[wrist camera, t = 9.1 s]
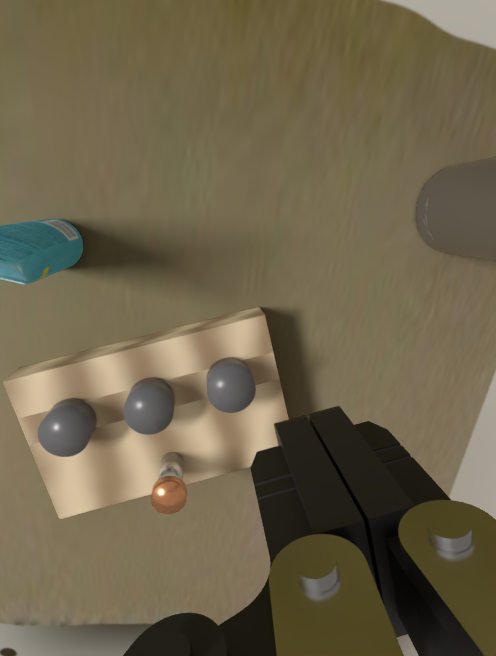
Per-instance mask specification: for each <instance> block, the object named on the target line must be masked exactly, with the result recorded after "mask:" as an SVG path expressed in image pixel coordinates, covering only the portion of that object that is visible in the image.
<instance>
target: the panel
mask: <svg viewBox="0 0 496 656" xmlns="http://www.w3.org/2000/svg"><path fill="white" fill-rule="evenodd" d="M229 357H230V358H237V359H239V360H241V361H243V362H244V363H245V364H246V365H247V366H248V367H249V369H250V371H251V374H252V377H253V379H254V382H255V386H256V392H255V397H254V399H253V401H252V402H251V404H250V405H249V406H248V407H247V408H245V409H244V410H242V411H239V412H236V413H225V412H222V411H220V410H218V409H216V408H215V407H214V406H213V405H212V404H211V403H210V401H209V399H208V395H207V381H206V378H207V373H208V371H209V369H210V367H211V366H212V365H213V364H214V363H215V362H217V361H218V360H220V359H223V358H229ZM145 378H158V379H161V380H163V381H165V382H166V383H167V384H169V385H170V387H171V388H172V390H173V392H174V395H175V405H174V413H173V418H172V421H171V423H170V424H169V426H168V427H167V428H166V429H164V430H163V431H161V432H159V433H156V434H151V435H145V434H141V433H138V432H136V431H134V430H133V429H131V428H130V427H129V426H128V424H127V423H126V421H125V419H124V414H123V409H124V405H125V402H126V400H127V397H128V395H129V392H130V390H131V388H132V387H133V386H134V384H136V383H137V382H138V381H140V380H142V379H145ZM3 384H4V386H5V388H6V391H7V393H8V396H9V398H10V400H11V403H12V405H13V408H14V410H15V412H16V415H17V417H18V420H19V422H20V425H21V427H22V429H23V432H24V434H25V437H26V439H27V441H28V444H29V446H30V449H31V451H32V454H33V456H34V458H35V461H36V463H37V466H38V468H39V470H40V473H41V475H42V478H43V480H44V483H45V485H46V487H47V490H48V492H49V495H50V497H51V499H52V502H53V504H54V507H55V509H56V512H57V514H58V516H59V519H62V518H65V517H69V516H73V515H76V514H80V513H84V512H87V511H91V510H95V509H98V508H102V507H106V506H109V505H113V504H117V503H120V502H124V501H128V500H131V499H135V498H138V497H142V496H146V495H149V494H152V489H153V486H154V484H155V482H156V481H157V480H158V477H159V470H160V463H161V459H162V457H163V456H164V455H165V454H166V453H169V452H176V453H179V454H180V455H181V456H182V457H183V460H184V467H183V482H184V483H185V485H186V484H190V483H193V482H197V481H201V480H204V479H208V478H212V477H215V476H219V475H222V474H226V473H230V472H233V471H237V470H241V469H244V468H248V467H251V465H252V463H253V460H254V458H255V455H256V453H257V451H261V450H265V449H268V448H272V447H276V446H279V445H278V441H277V437H276V433H275V428H274V423H277V422H281V421H285V420H289V418H288V414H287V410H286V405H285V401H284V397H283V392H282V388H281V383H280V379H279V375H278V370H277V366H276V362H275V357H274V353H273V348H272V344H271V340H270V335H269V331H268V327H267V322H266V318H265V314H264V313H263V312H262V310H261V309H260V307H257V308H253V309H249V310H245V311H241V312H237V313H233V314H229V315H225V316H221V317H218V318H214V319H210V320H206V321H202V322H198V323H194V324H190V325H186V326H182V327H178V328H174V329H170V330H166V331H162V332H159V333H155V334H151V335H147V336H143V337H139V338H135V339H131V340H127V341H123V342H119V343H115V344H111V345H107V346H103V347H100V348H96V349H92V350H88V351H84V352H80V353H76V354H72V355H68V356H64V357H60V358H56V359H52V360H48V361H44V362H41V363H37V364H33V365H29V366H25V367H21V368H18V369H17V370H16V371H15V372H14V373H13V374H11V375H10V376H9V377H8V378H7V379H5V380H4V381H3ZM65 399H79V400H82V401H84V402H86V403H87V404H89V405H90V406H91V407H92V409H93V410H94V412H95V414H96V418H97V423H96V427H95V430H94V432H93V434H92V436H91V438H90V440H89V442H88V444H87V446H86V447H85V449H84V450H83V451H81V452H80V453H78V454H76V455H74V456H70V457H59V456H55V455H53V454H51V453H49V452H47V451H46V450H45V449H44V448H43V447H42V445H41V444H40V442H39V439H38V428H39V425H40V423H41V422H42V420H43V419H44V418H45V416H46V415H47V414H48V412H49V411H50V410H51V409H52V407H53V406H54V405H55V404H56V403H58V402H60V401H62V400H65Z"/></svg>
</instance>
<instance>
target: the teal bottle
mask: <svg viewBox="0 0 496 656" xmlns="http://www.w3.org/2000/svg"><path fill="white" fill-rule="evenodd" d="M82 252H83V241H82V238H81V235H80V233H79V232H78V231H77V229H76V228H75V227H74V226H73V225H71V224H70V223H68V222H66V221H63V220H59V219H48V220H40V221H31V222H23V223H16V224H8V225H1V226H0V279H1V280H7V281H11V282H16V283H20V284H23V285H24V284H29V283H32V282H35V281H38V280H40V279H42V278H44V277H47V276H49V275H51V274H54V273H56V272H59V271H61V270H64V269H67V268H69V267H71V266H73V265H74V264H75V263H77V262H78V260H79V259H80V257H81V255H82Z"/></svg>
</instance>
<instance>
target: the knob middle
mask: <svg viewBox="0 0 496 656" xmlns="http://www.w3.org/2000/svg"><path fill="white" fill-rule="evenodd" d="M174 405H175V395H174V392H173V390H172V388H171V387H170V385H169V384H167V383H166V382H165V381H163V380H161V379H158V378H145V379H142V380H140V381H138V382H137V383H136V384H134V386H133V387H132V388H131V390H130V392H129V395H128V397H127V400H126V402H125V405H124V409H123V414H124V419H125V421H126V423H127V424H128V426H129V427H130V428H131V429H133V430H134V431H136V432H138V433H141V434H145V435H151V434H156V433H159V432H161V431H163V430H164V429H166V428H167V427H168V426H169V424H170V423H171V421H172V418H173V413H174Z"/></svg>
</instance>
